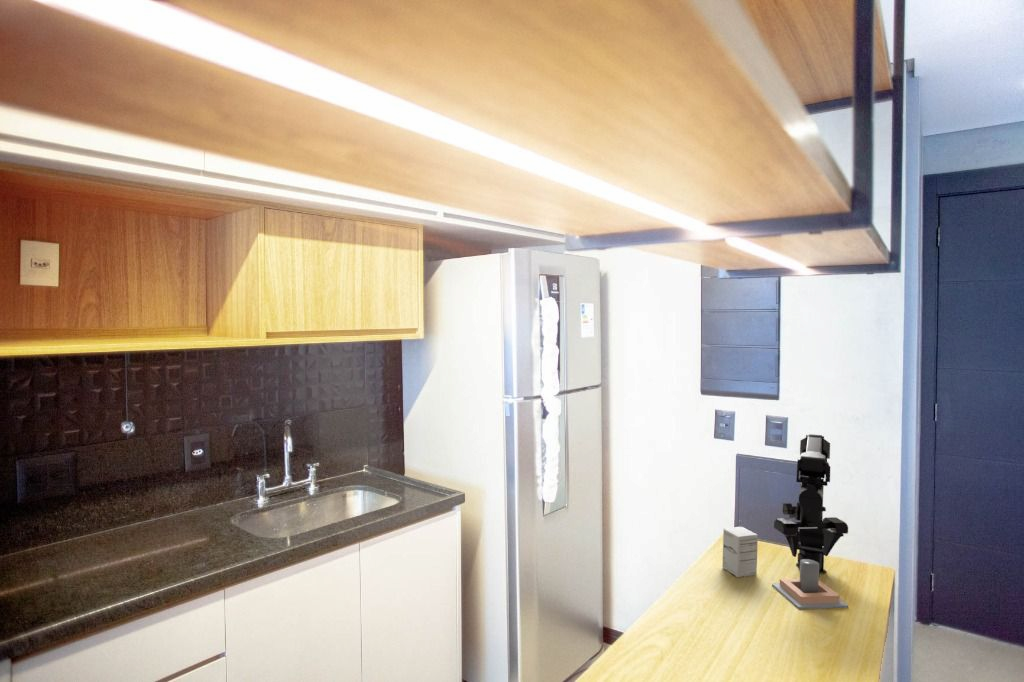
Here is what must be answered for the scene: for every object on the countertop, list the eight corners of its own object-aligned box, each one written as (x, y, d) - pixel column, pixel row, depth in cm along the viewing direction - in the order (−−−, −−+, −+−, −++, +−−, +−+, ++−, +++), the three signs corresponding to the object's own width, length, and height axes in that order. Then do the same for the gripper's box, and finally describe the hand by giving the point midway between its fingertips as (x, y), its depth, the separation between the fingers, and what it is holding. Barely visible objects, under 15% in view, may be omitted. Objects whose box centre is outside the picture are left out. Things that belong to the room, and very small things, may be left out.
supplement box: (721, 568, 186) (722, 528, 186) (741, 565, 189) (742, 525, 188) (737, 578, 179) (738, 536, 179) (757, 575, 182) (758, 534, 181)
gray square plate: (817, 584, 176) (817, 575, 176) (848, 607, 162) (848, 598, 162) (771, 585, 175) (772, 576, 174) (798, 609, 161) (798, 599, 160)
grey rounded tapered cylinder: (811, 589, 171) (812, 558, 170) (821, 597, 166) (822, 565, 165) (795, 590, 170) (796, 559, 170) (805, 598, 165) (806, 566, 165)
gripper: (825, 492, 176) (824, 544, 176) (764, 492, 174) (763, 545, 175) (850, 503, 165) (848, 559, 165) (785, 505, 163) (783, 561, 164)
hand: (809, 556), depth 168 cm, fingers open, 9 cm apart
